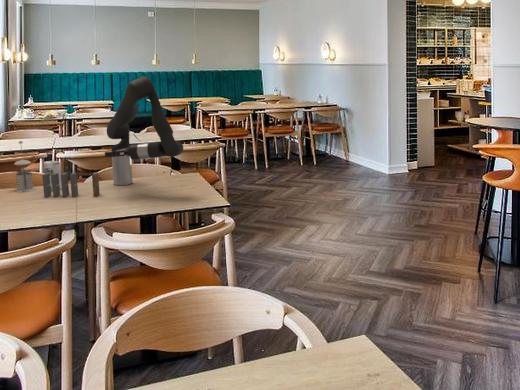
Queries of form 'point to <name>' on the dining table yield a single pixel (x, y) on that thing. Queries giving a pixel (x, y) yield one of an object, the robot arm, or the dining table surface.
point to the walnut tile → (95, 184)
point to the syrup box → (52, 170)
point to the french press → (24, 176)
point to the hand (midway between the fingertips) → (109, 153)
